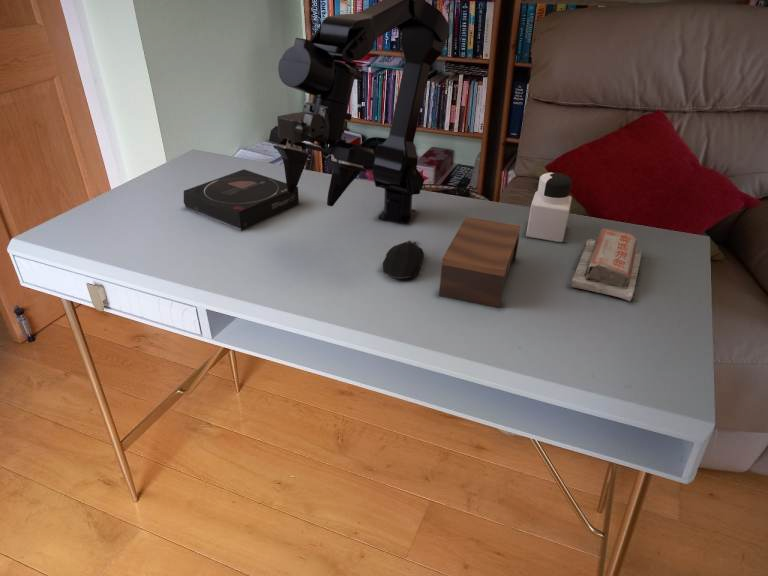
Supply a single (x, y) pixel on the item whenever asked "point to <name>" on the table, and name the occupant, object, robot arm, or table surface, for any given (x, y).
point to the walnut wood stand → (479, 261)
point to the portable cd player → (240, 199)
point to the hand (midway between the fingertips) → (309, 199)
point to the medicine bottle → (550, 208)
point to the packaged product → (609, 265)
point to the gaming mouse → (403, 260)
